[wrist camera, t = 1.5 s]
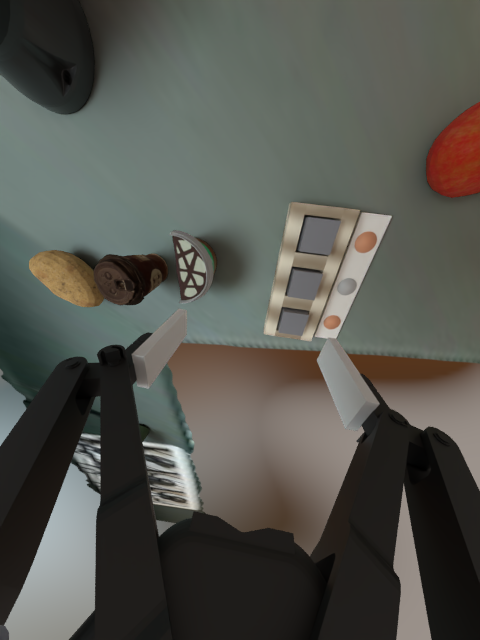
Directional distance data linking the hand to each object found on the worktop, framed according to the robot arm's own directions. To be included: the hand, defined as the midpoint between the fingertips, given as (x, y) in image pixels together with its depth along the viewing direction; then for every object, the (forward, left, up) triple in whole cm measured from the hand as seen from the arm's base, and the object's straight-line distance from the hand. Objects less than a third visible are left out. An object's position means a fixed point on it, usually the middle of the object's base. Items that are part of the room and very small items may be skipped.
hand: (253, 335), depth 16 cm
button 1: (+8, +9, -23) cm, 26 cm away
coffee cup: (+2, -23, -25) cm, 34 cm away
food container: (-1, -11, -25) cm, 27 cm away
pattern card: (0, +18, -24) cm, 30 cm away
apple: (-21, +26, -25) cm, 41 cm away
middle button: (0, +9, -23) cm, 25 cm away
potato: (+6, -40, -25) cm, 47 cm away
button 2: (-9, +9, -23) cm, 26 cm away
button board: (0, +9, -24) cm, 26 cm away
